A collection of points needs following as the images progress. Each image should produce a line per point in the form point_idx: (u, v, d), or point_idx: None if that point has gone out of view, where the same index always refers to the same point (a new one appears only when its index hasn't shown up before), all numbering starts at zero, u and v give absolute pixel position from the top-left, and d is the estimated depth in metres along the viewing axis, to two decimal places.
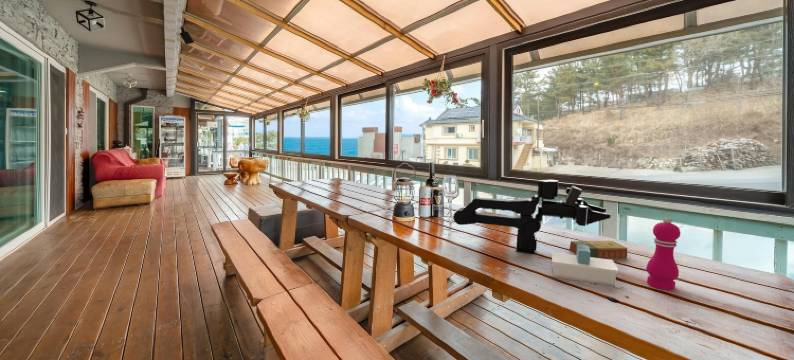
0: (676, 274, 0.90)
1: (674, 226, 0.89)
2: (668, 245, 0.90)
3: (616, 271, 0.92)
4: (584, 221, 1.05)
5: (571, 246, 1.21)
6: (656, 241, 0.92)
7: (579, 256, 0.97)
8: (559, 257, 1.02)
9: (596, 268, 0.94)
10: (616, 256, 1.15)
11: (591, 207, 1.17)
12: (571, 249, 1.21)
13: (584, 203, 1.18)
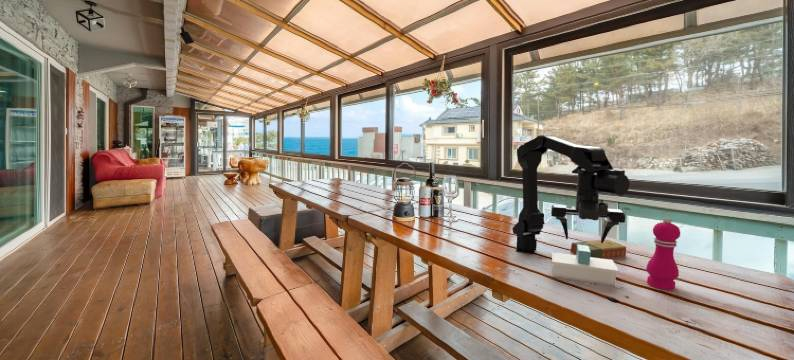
0: (676, 274, 0.90)
1: (674, 226, 0.89)
2: (668, 245, 0.90)
3: (616, 271, 0.92)
4: None
5: (573, 248, 1.20)
6: (656, 241, 0.92)
7: (579, 256, 0.97)
8: (559, 257, 1.02)
9: (596, 268, 0.94)
10: (617, 255, 1.15)
11: (604, 229, 0.95)
12: (573, 251, 1.19)
13: (606, 222, 0.94)
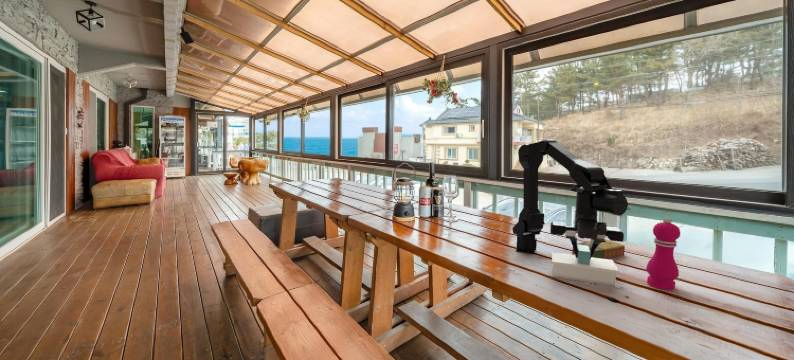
0: (676, 274, 0.90)
1: (674, 226, 0.89)
2: (668, 245, 0.90)
3: (616, 271, 0.92)
4: (550, 229, 1.03)
5: None
6: (656, 241, 0.92)
7: (579, 256, 0.97)
8: (559, 258, 1.02)
9: (596, 268, 0.94)
10: (617, 254, 1.16)
11: (591, 245, 0.97)
12: None
13: (593, 240, 0.96)
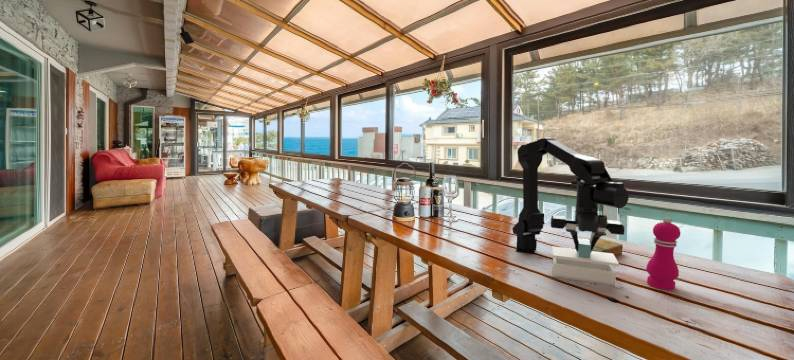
0: (676, 274, 0.90)
1: (674, 226, 0.89)
2: (668, 245, 0.90)
3: (617, 264, 0.92)
4: None
5: None
6: (656, 241, 0.92)
7: (579, 249, 0.97)
8: (560, 251, 1.01)
9: (597, 261, 0.94)
10: (616, 254, 1.17)
11: (591, 239, 0.97)
12: None
13: (594, 233, 0.95)
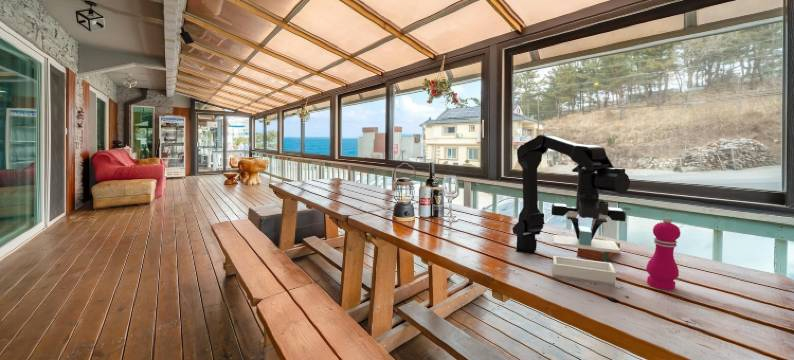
0: (676, 274, 0.90)
1: (674, 226, 0.89)
2: (668, 245, 0.90)
3: (618, 251, 0.91)
4: (551, 210, 1.03)
5: (580, 251, 1.16)
6: (656, 241, 0.92)
7: (580, 237, 0.96)
8: (561, 239, 1.01)
9: (598, 248, 0.93)
10: (615, 253, 1.18)
11: (592, 226, 0.96)
12: (581, 255, 1.15)
13: (595, 220, 0.95)
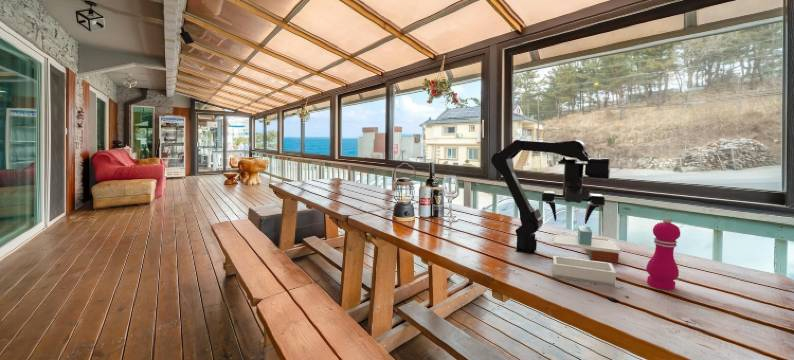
0: (676, 274, 0.90)
1: (674, 226, 0.89)
2: (668, 245, 0.90)
3: (618, 251, 0.91)
4: None
5: (595, 255, 1.12)
6: (656, 241, 0.92)
7: (580, 237, 0.96)
8: (561, 239, 1.01)
9: (598, 248, 0.93)
10: None
11: (587, 211, 1.10)
12: (595, 258, 1.12)
13: (589, 205, 1.08)
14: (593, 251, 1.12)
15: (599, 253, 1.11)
